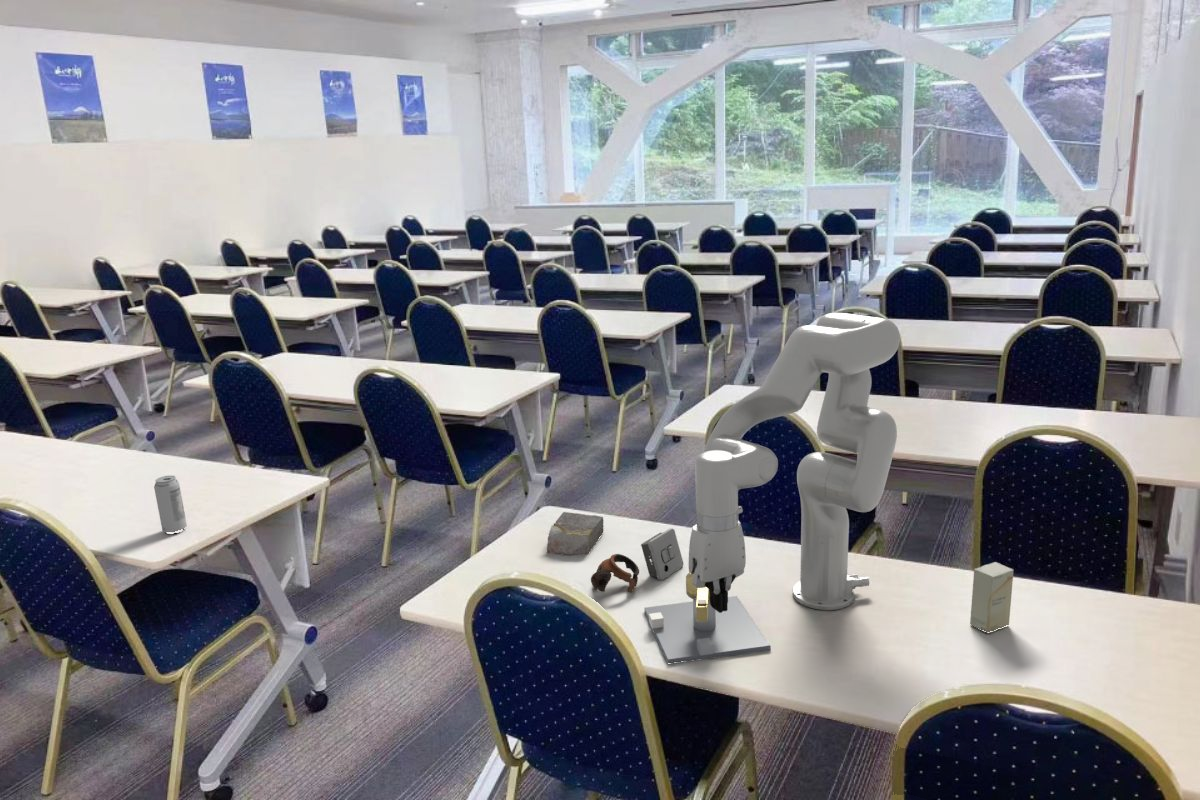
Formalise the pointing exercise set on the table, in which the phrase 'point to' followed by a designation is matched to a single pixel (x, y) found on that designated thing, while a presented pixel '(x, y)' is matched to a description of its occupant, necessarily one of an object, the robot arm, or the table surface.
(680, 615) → the lock base
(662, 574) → the electrical switch
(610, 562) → the brown headphones
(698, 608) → the handle
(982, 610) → the skincare box
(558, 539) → the geological specimen
